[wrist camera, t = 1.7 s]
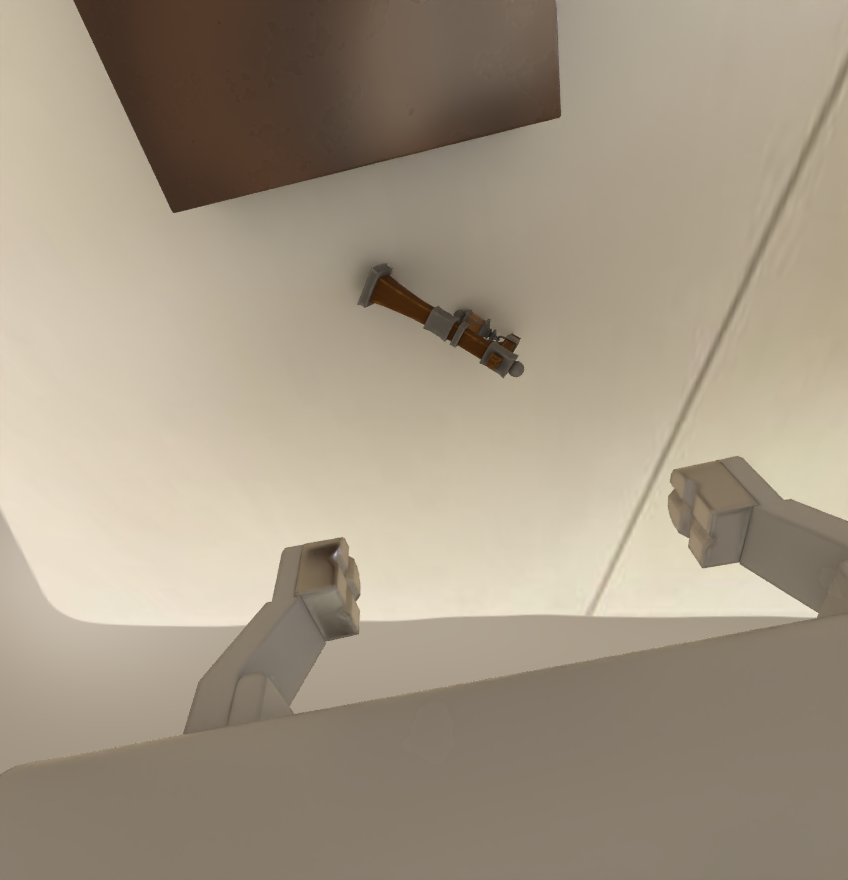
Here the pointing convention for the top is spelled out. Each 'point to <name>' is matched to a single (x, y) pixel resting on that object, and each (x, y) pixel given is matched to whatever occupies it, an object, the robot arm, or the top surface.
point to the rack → (317, 83)
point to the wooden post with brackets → (444, 322)
